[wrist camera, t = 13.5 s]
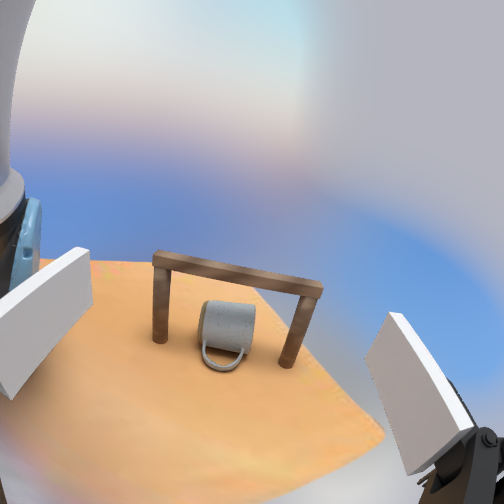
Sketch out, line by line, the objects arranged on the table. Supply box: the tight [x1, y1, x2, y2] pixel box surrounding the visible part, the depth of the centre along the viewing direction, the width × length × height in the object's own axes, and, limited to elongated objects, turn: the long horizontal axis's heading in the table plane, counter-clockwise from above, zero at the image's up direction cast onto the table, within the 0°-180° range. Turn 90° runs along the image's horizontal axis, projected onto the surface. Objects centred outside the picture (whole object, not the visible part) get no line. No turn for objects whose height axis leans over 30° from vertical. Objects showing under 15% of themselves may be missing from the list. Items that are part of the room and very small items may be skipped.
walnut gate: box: [152, 250, 323, 368], centre depth 37 cm, size 22×2×14 cm, turn 88°
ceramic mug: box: [198, 301, 256, 371], centre depth 39 cm, size 11×8×8 cm
